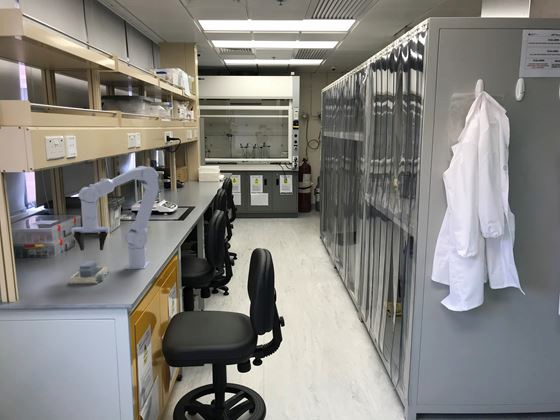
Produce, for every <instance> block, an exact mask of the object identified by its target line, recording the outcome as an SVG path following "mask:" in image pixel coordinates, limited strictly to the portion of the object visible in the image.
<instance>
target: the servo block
mask: <svg viewBox="0 0 560 420" xmlns="http://www.w3.org/2000/svg"><path fill="white" fill-rule="evenodd" d="M98 264H99V263H98V262H97V260H95V261H94V260H93V261H92V260H86V261H84V262H83V263H82V264H80V265H79V269H78V271H79V272H80V276H81V277H94V276H95V275H96V274H97V267H98Z"/></svg>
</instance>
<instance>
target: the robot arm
mask: <svg viewBox="0 0 560 420" xmlns="http://www.w3.org/2000/svg"><path fill="white" fill-rule="evenodd" d="M158 178H159V174H158V172H157V171H156V169H155V167H152V166H143V165H138V166H137V167H133V168H131V169H129V170H127V171H125V172H124V173H121V174H120V175H117V176H116V177H114V178H112V179H109V178H101V179H100V181H98V182H96V183H94V184H92V183H91V184H89V186H84V187H82V188H80V190H79V193H78V198H79V199H80V203H81V207H80V208H81V219H82V220H81V221H82V226H77V227H71V232H70V233H71V234H73V237H74V239H75V241H76V242H77V245H78V246H79V249H80V251H81V252H82V251H84V250H85V241H84V238H85V236H84V235H85V233H87V234H89V233H97V237H98V241H99V251H103V250H104V247H105V242H106V239H107V237H108V234H109V233H110V232H111V227H110V226H107V227H106V226H99V220H98V217H99V216H98V206H97V201H98V199H99V198H101V197H103V196H106V195H108V194H110V193H112V192H114V190H115V189H116V188H115V187H117V186H119V185H123V184H125V183H127V182H129V181H132V180H137V181H139V182H140V183H141V184H142V186H143V188H144V192H143V195H142V199H141V202H140V205H139V208H138V211H137V213H136V217H135V220H134V222H133V224H132V225H131V226H130V228H129V229H128V231H127V232H126V234H125V236H124V239H125V242H126V243H127V256H128V265H127V266H126V267H125V269H126V270H127V269H128V270H135V269H137V270H139V269H141V270H142V269H144V270H145V269H146V268H147V266H148V265H149V264H150V261H148V256H147V255H148V254H147V253H148V251H147V248H146V245H147V243H148V237H147V236H148V233H149V231H148V228H147V226H148V224H149V221H150V217H151V214H152V212H153V208H154V206H155V202H156V199H157V196H158V192H159V189H160V187H159V179H158Z"/></svg>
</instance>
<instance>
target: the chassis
mask: <svg viewBox="0 0 560 420" xmlns="http://www.w3.org/2000/svg"><path fill="white" fill-rule="evenodd" d="M109 274H110V270H108V266H97V274H96V275H95V276H94V277H81V276H80V272H79V270H78V271H76V272H75V273H74V274H72V275H71V276H70V277H69V282H67V285H68V286H69V285H70V286H71V285H72V286H73V285H78V286H79V285H98V284H99V283H101V281H102V280H104V278H105V277H106V276H108V275H109Z"/></svg>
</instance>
